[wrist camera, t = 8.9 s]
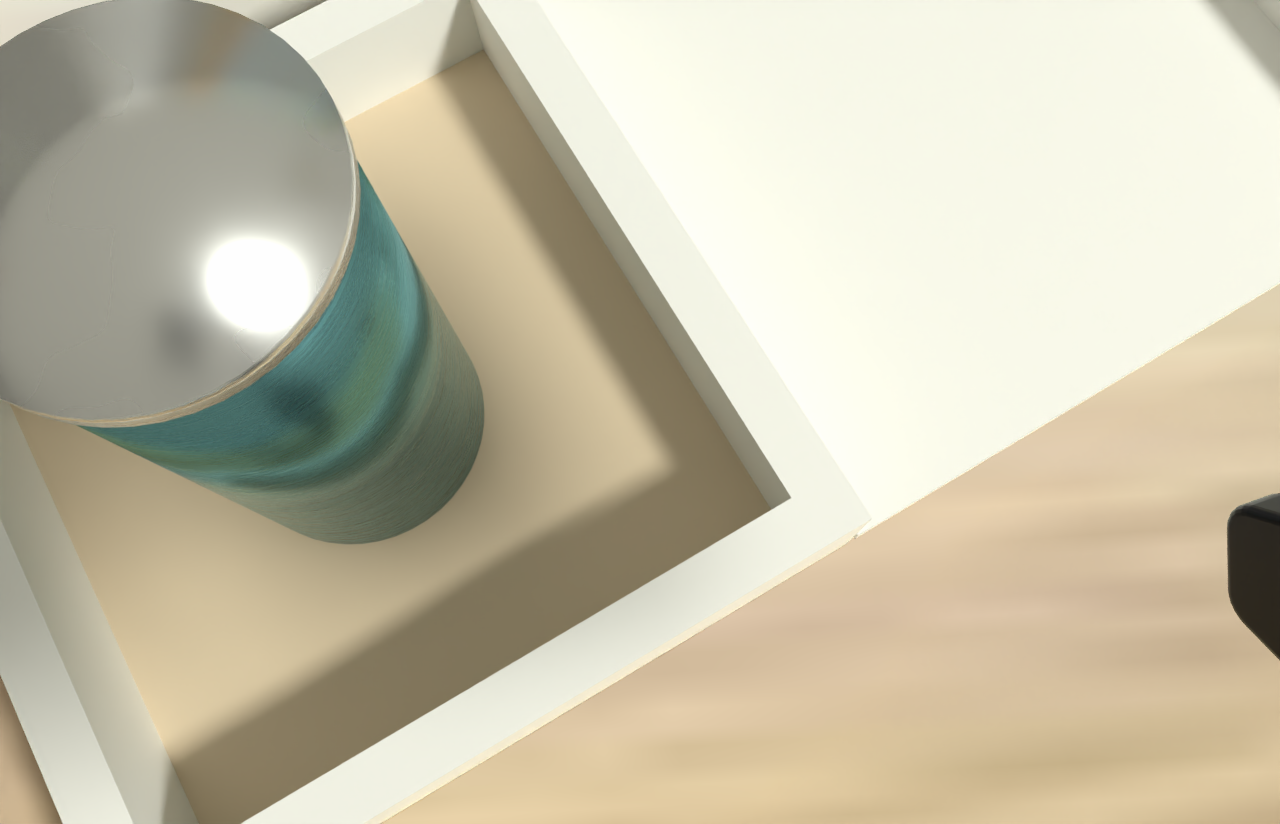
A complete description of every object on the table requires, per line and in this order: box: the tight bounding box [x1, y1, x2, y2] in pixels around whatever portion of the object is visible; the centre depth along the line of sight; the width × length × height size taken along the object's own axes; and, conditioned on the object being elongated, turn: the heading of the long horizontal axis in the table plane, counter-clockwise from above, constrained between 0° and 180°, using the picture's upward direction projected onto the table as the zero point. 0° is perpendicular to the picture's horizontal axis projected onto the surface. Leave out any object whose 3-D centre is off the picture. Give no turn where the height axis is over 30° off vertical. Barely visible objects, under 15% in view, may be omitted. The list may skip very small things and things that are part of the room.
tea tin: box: [0, 0, 484, 544], centre depth 18 cm, size 5×5×10 cm
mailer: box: [0, 0, 1280, 824], centre depth 22 cm, size 14×28×3 cm, turn 120°
